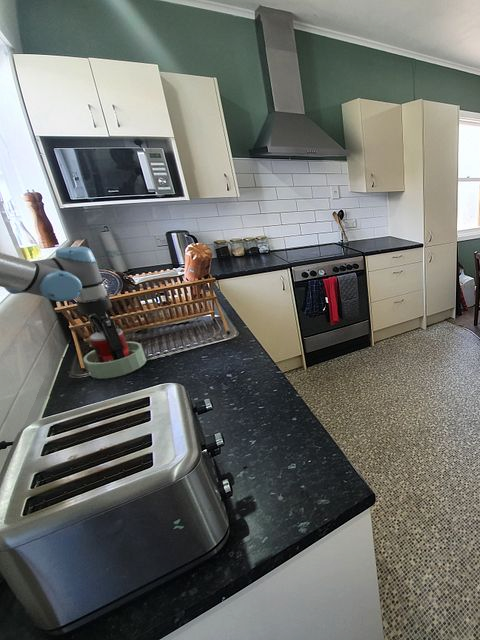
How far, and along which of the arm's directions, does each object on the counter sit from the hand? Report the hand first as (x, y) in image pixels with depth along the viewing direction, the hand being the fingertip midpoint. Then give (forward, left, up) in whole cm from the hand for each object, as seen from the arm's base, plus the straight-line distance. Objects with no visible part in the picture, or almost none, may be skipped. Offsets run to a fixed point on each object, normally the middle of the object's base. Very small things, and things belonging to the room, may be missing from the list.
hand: (117, 362), depth 115 cm
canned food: (0, 0, 0) cm, 0 cm away
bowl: (0, 0, -2) cm, 2 cm away
